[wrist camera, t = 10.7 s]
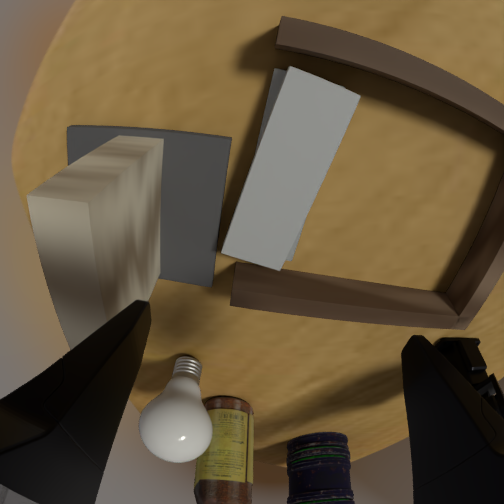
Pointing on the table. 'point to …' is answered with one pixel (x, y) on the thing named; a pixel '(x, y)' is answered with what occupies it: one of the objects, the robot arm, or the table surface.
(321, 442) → the dark blue cylinder
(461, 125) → the table surface
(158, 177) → the pale wooden block
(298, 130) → the offcut top
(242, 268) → the frame
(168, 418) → the lightbulb
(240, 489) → the sauce bottle
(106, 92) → the table surface
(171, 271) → the mat
